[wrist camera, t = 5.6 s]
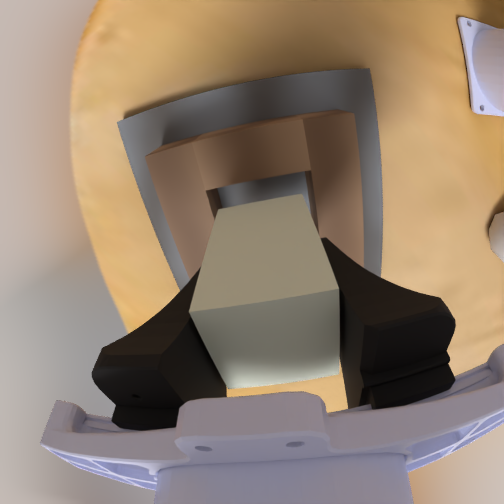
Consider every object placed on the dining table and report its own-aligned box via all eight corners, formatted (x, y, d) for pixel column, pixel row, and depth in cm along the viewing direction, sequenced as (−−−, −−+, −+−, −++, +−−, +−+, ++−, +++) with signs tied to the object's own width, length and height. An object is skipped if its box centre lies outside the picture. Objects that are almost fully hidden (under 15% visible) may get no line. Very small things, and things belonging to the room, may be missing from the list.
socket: (363, 69, 14) (390, 65, 11) (376, 273, 22) (392, 304, 19) (123, 120, 16) (93, 129, 13) (192, 304, 24) (183, 338, 21)
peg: (301, 193, 13) (339, 288, 7) (311, 264, 15) (339, 374, 9) (218, 209, 14) (188, 311, 8) (237, 276, 16) (228, 388, 10)
